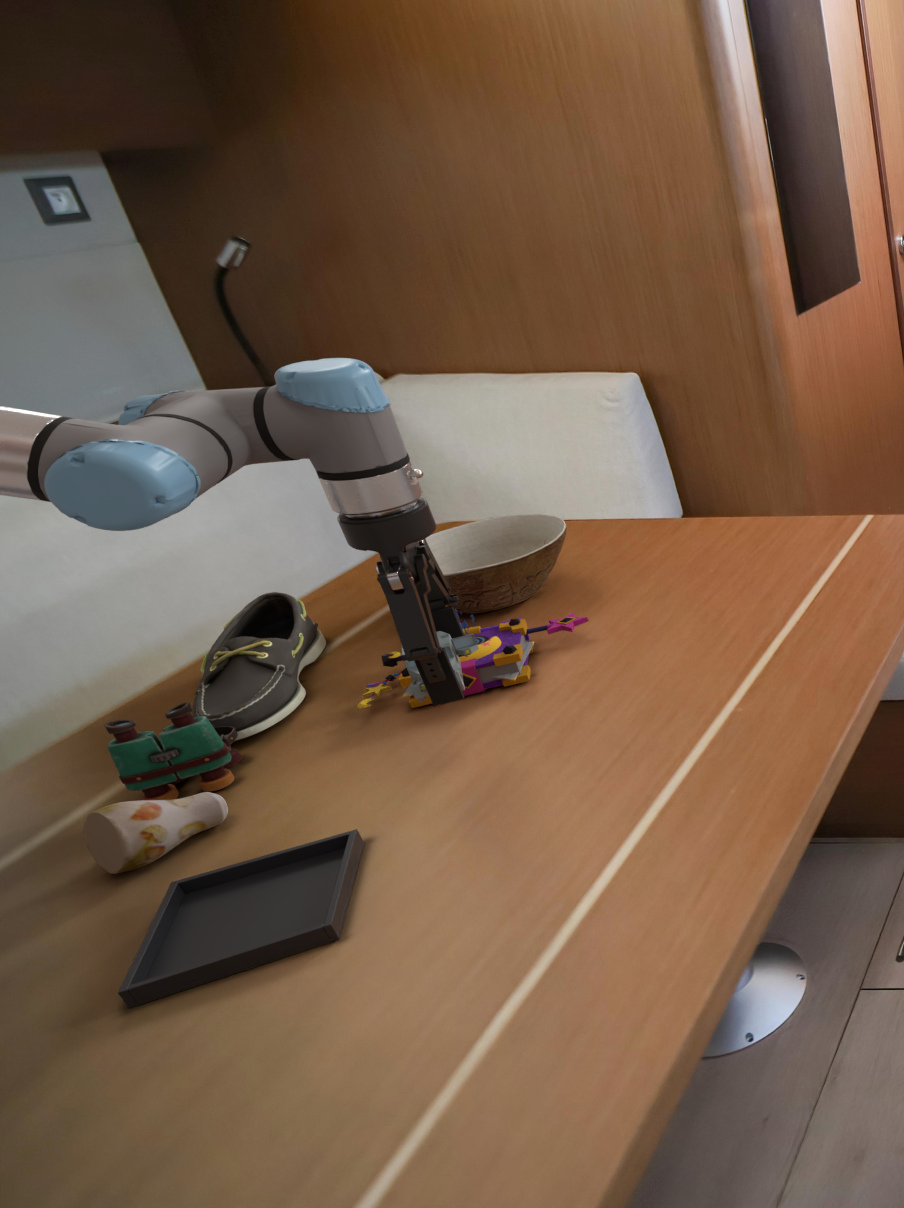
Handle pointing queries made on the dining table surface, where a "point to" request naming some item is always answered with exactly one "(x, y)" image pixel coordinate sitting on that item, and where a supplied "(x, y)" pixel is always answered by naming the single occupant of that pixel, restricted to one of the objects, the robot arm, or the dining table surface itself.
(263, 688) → the boat shoe
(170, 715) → the binoculars
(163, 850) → the mug
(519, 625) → the purple toy
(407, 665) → the toy car
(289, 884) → the tray
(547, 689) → the dining table surface
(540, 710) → the dining table surface
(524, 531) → the bowl
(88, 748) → the dining table surface
